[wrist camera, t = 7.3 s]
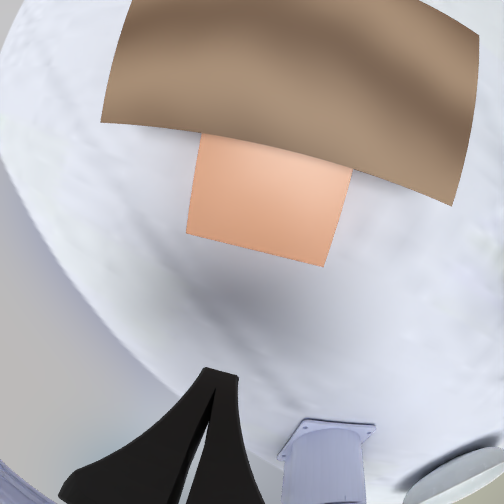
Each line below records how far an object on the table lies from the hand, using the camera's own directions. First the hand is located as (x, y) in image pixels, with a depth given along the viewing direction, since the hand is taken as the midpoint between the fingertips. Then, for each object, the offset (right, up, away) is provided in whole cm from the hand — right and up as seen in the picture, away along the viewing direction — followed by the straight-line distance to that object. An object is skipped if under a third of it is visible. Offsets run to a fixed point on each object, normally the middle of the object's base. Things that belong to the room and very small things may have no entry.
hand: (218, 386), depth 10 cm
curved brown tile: (+4, +15, +2) cm, 16 cm away
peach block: (+3, +11, +4) cm, 12 cm away
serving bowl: (+36, -31, +17) cm, 51 cm away
